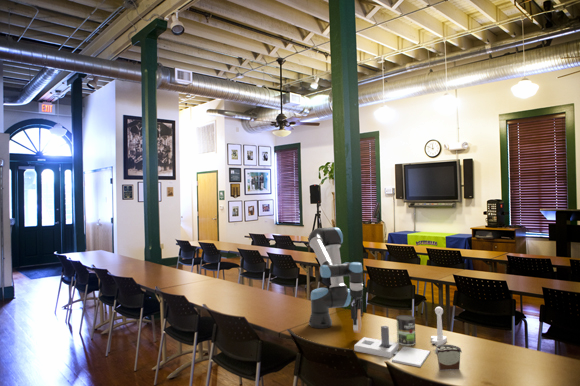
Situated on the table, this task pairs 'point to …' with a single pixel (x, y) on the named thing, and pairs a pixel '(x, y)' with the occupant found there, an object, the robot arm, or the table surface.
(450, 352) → the food container
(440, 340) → the joystick
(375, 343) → the housing
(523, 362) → the table surface
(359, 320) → the jaw pin orange
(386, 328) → the ball
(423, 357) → the lid
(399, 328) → the coffee can
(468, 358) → the table surface
